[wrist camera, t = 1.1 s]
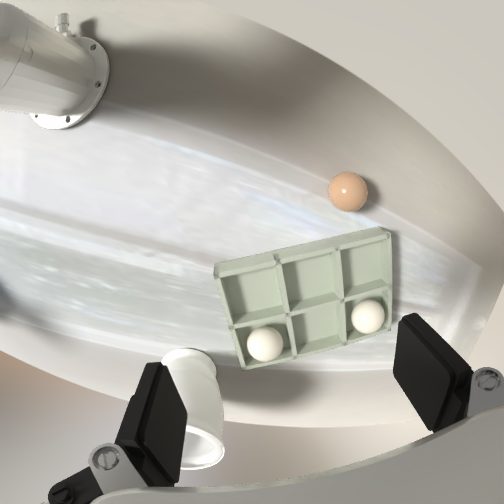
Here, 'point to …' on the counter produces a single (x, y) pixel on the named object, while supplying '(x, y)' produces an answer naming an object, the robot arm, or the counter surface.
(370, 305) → the cream egg
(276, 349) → the cream egg
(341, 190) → the brown egg
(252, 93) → the counter surface
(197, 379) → the jar
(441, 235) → the counter surface
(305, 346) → the egg tray
